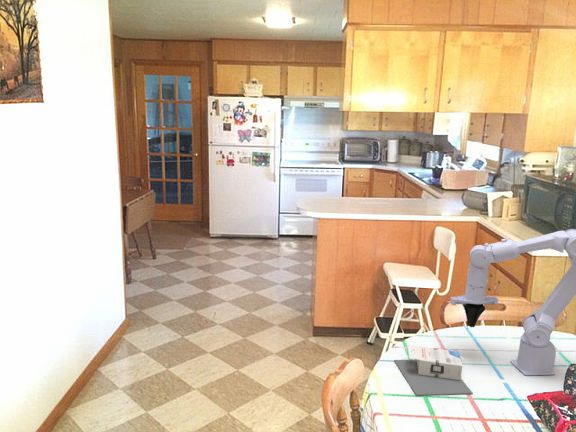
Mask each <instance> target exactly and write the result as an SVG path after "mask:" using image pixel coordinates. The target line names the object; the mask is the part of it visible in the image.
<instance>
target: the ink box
mask: <svg viewBox="0 0 576 432" xmlns="http://www.w3.org/2000/svg"><path fill="white" fill-rule="evenodd" d="M407 348H408V349H407V350H408V359H409V360H417V365H418V374H419V375H426V376H433V377H440V378H447V379H454V380H462V373H463V363H462V359H461V356H460V353H459V351H455V350H448V349H441V348H432V347H428V346H427V347H426V346H420V345H419V346H418V345H408V346H407ZM413 351H414V353H413Z"/></svg>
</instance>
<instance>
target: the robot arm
mask: <svg viewBox="0 0 576 432" xmlns="http://www.w3.org/2000/svg"><path fill="white" fill-rule="evenodd" d="M547 249H549V250H550V249H551V250H554V251H556V252H559V253H564V251H565V252H566V253H567V255H568V259H569V261H570V264H571V265H570V267H569V268H568V269H567V270H566V272H565V273H564V275H563V276H562V278H561V279H559V282H558V283H557V284H556V286H555V287H554V288H553V290H552V291H551V293H549V295H548V296H547V298H546V299H545V300H544V301H543V303H542V304H541V306H540V307H539V308H536V309H534V311H533V312H532V313H531V314H530V315H527V316H526V317H524V318H523V320H522V323H521V325H522V328H523V331H524V332H523V334H521V336H520V340H519V346H518V347H519V348H518V354H517V359H511V360H510V361H509V362H510V363H511V364H512V365H513V366H514V367H515V368H516V369H518V370H519V371H520V372H521V374H523V375H524V376H552V375H553V376H554V375H555V372H554V369H555V360H556V357H557V352H556V351H557V350H556V347H555V345H554V344H553V342H552V341H550V340H551V335H552V333H553V332H554V329H555V326H556V321H557V320H558V318H560V316H561V315H562V313H563V312H564V310H565V309H566V308H567V307H568V305H569V304H570V303H571V301H572V300H573V299H574V298H575V297H576V228H570V229H567V230H558V231H554V232H551V233H547V234H543V235H539V236H535V237H532V238H531V237H530V238H529V239H524V240H521V241H514V240H512V239H507V238H502V239H501V241H498V242H494V243H488V242H485V243H484V245H481V244H479V245H478V244H477V245H474V246H473V247H472V248H471V249H470V251H469V260H470V261H469V263H468V269H467V276H466V281H465V282H466V284H465V293H464V295H463V294H462V295H458V296H451V297H450V300H449V304H450V305H452V306H457V305H462V306H463V310H464V313H465V315H466V316H465V317H466V324H467V326H468V327H469V328H475V327H476V324H477V322H478V320H479V318H480V317H481V315H482V314H483V313H484V312H485V310H486V306H484V305H494V306H498V305H499V298H498V297H496V296H488V295H487V296H486V292H487V283H488V276H489V266H490V265H491V264H495V263H500V262H505V261H511V260H515V259H517V258H518V256H520V254H524V253H529V252H530V253H531V252H535V251H540V250H547Z"/></svg>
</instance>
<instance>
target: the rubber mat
mask: <svg viewBox="0 0 576 432" xmlns="http://www.w3.org/2000/svg"><path fill="white" fill-rule="evenodd" d="M393 362H394V364H395V365H396V366H397V368H398V370H399V372H400V373H401V374H402V376H403V378H404V379H405V381H406V383H407V384H408V385H409V387H410V389H411V391H412V392H413V394H414V395H415V396H416V397H426V396H427V397H428V396H456V395H457V396H458V395H462V396H463V395H473V394H474V393H473V391H472V390H471V389H470V388H469V387H468V386H467V384H466V383H465V382H464V380H462V379H461V380H454V379H447V378H440V377H433V376H426V375H419V374H418V365H417V360H415V359H394V360H393Z"/></svg>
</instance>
